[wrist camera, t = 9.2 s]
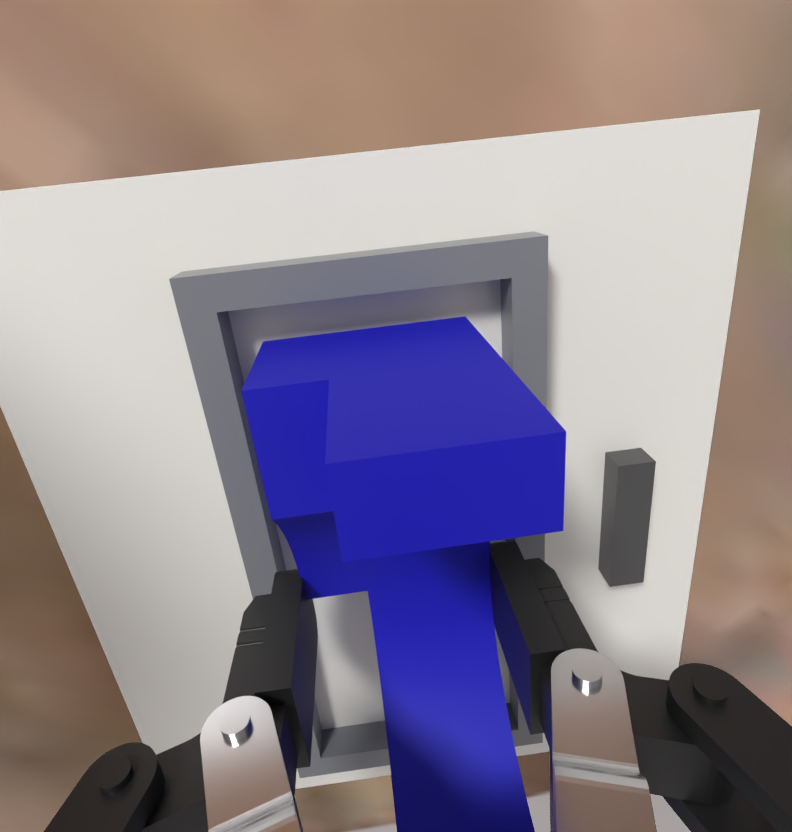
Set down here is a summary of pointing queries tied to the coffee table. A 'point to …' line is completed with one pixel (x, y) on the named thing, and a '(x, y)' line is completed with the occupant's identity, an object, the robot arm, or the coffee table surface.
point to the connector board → (352, 310)
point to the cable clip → (414, 533)
